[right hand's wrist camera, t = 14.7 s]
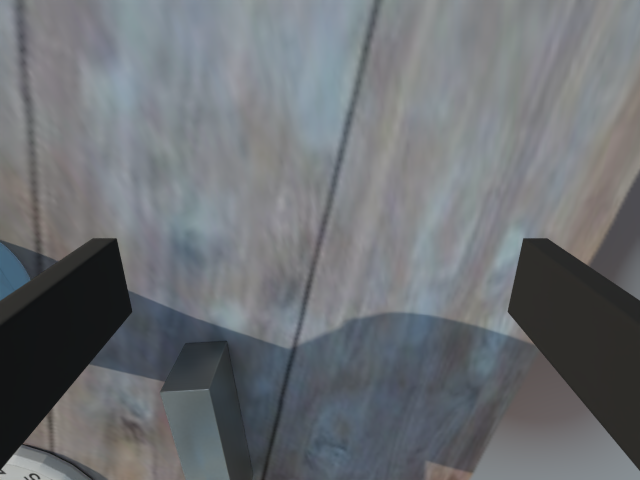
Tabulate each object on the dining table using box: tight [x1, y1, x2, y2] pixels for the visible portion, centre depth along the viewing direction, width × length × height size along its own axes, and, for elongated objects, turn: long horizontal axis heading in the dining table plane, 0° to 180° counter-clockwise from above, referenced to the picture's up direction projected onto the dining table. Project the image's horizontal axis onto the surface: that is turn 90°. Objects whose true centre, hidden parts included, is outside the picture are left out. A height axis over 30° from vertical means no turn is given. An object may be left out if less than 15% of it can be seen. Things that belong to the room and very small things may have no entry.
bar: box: [160, 341, 253, 480], centre depth 51 cm, size 25×6×9 cm, turn 4°
